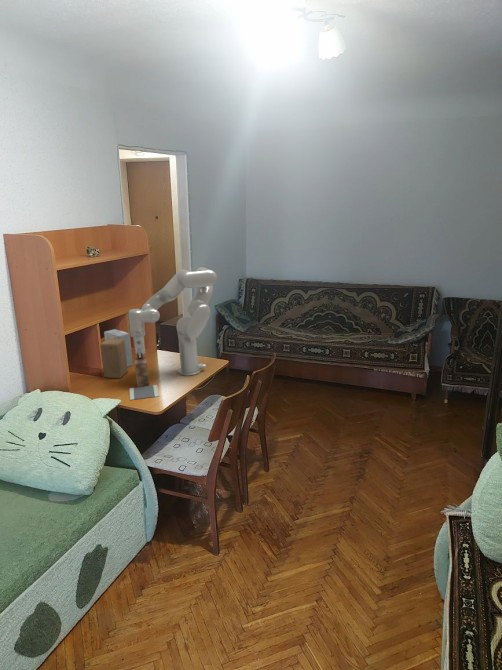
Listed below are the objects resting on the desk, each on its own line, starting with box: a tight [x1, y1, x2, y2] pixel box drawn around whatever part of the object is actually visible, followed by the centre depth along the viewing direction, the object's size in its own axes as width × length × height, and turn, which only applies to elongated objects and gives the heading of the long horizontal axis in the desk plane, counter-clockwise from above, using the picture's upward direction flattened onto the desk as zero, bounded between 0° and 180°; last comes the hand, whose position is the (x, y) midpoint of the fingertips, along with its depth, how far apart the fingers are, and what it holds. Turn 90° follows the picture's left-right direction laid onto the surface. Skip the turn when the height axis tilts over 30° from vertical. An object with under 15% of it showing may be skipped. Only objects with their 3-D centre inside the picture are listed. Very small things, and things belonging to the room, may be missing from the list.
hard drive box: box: [103, 328, 133, 368], centre depth 268 cm, size 16×8×20 cm, turn 49°
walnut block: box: [134, 356, 150, 387], centre depth 239 cm, size 6×6×14 cm
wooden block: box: [99, 339, 129, 379], centre depth 253 cm, size 10×10×20 cm
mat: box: [129, 384, 160, 401], centre depth 232 cm, size 14×14×1 cm
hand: (140, 365), depth 243 cm, fingers closed
